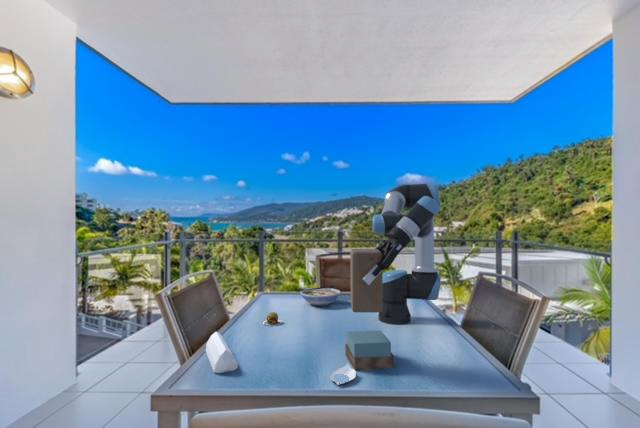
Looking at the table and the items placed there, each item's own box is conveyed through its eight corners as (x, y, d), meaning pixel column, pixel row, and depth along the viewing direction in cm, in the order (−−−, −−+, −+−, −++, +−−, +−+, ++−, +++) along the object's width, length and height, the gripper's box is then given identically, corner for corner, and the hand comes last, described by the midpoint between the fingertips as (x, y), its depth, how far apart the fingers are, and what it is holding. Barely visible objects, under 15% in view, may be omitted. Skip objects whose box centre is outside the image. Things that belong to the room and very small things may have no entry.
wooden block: (383, 313, 114) (382, 251, 114) (352, 313, 115) (351, 252, 114) (378, 304, 124) (378, 248, 124) (350, 304, 125) (350, 248, 124)
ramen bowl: (309, 312, 182) (309, 296, 182) (291, 302, 202) (291, 288, 202) (350, 306, 193) (350, 291, 193) (329, 298, 214) (329, 284, 214)
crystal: (245, 359, 112) (230, 336, 133) (225, 350, 109) (213, 328, 131) (233, 381, 110) (220, 354, 132) (212, 374, 108) (202, 347, 129)
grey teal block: (380, 343, 125) (380, 330, 125) (390, 356, 114) (390, 342, 114) (347, 344, 124) (347, 331, 124) (354, 357, 112) (354, 343, 112)
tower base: (380, 354, 127) (380, 341, 127) (394, 369, 114) (394, 355, 114) (345, 356, 125) (345, 343, 125) (355, 372, 112) (355, 358, 112)
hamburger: (270, 330, 154) (270, 317, 154) (254, 324, 162) (254, 312, 162) (290, 324, 163) (290, 312, 163) (274, 319, 171) (274, 308, 171)
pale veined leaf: (360, 371, 110) (359, 363, 110) (350, 392, 99) (349, 383, 99) (336, 369, 113) (335, 362, 113) (324, 389, 102) (323, 381, 102)
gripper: (426, 242, 110) (379, 293, 108) (397, 238, 134) (358, 280, 131) (410, 226, 110) (362, 277, 107) (384, 224, 133) (344, 266, 130)
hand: (360, 279), depth 119 cm, fingers closed on wooden block, 11 cm apart
